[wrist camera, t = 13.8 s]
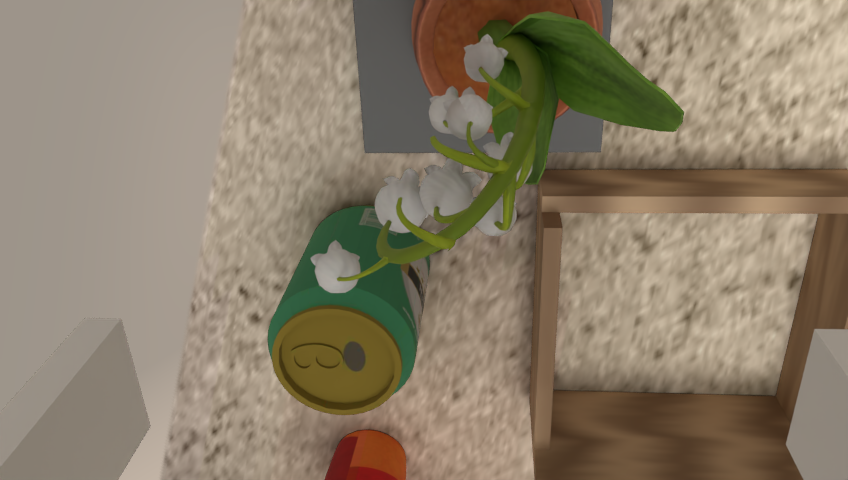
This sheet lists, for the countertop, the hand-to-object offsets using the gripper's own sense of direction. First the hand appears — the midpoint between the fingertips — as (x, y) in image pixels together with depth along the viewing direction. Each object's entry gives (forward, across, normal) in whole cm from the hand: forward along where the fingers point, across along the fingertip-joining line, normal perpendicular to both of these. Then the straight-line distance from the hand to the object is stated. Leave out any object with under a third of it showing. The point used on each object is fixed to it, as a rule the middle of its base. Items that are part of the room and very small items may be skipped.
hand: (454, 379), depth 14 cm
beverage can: (+31, -7, -14) cm, 35 cm away
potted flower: (+30, +1, +1) cm, 30 cm away
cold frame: (+31, +13, -17) cm, 37 cm away
